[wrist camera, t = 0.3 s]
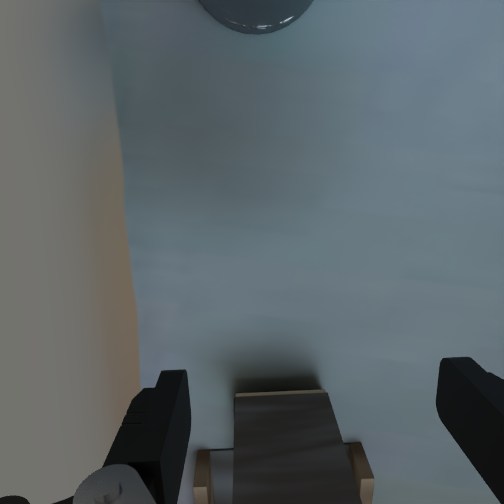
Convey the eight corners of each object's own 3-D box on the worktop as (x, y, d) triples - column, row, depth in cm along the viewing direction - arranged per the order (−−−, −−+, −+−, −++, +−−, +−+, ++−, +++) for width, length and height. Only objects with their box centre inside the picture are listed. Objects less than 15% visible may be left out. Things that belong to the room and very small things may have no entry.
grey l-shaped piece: (229, 379, 34) (221, 558, 20) (328, 375, 34) (387, 550, 20) (235, 467, 37) (232, 671, 24) (325, 463, 38) (373, 663, 24)
